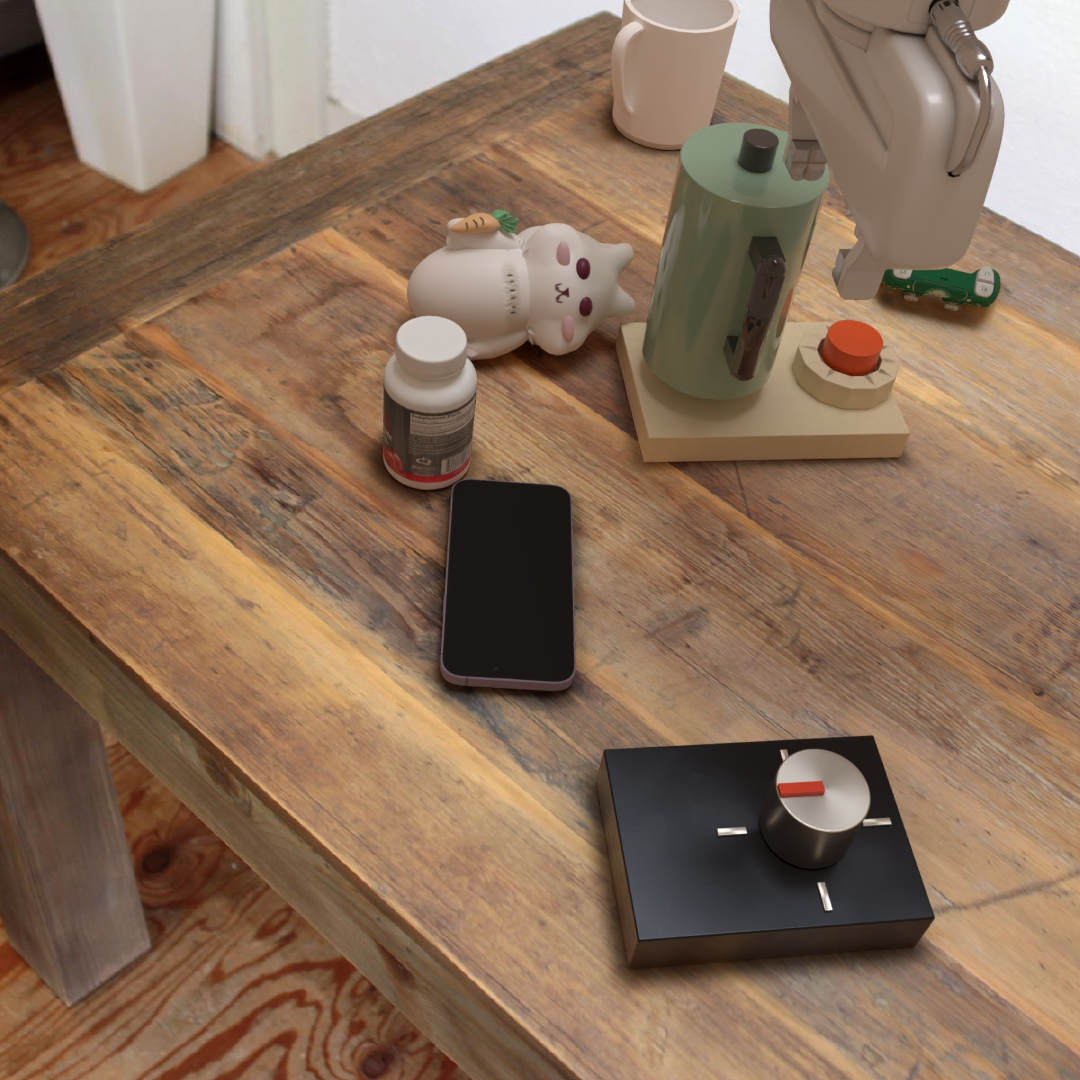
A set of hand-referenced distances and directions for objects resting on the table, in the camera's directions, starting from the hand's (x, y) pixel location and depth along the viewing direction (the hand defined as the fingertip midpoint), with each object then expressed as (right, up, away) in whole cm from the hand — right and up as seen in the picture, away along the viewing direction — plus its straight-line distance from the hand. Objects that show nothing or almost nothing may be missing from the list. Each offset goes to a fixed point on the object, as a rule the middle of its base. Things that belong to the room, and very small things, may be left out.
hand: (825, 228), depth 64 cm
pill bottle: (-21, -10, +18) cm, 29 cm away
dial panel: (-3, -31, +1) cm, 31 cm away
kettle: (-3, -3, +20) cm, 21 cm away
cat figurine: (-15, -1, +26) cm, 31 cm away
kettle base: (0, -6, +24) cm, 25 cm away
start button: (+6, -3, +22) cm, 23 cm away
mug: (-5, +19, +45) cm, 49 cm away
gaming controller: (+15, +3, +34) cm, 37 cm away
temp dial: (-1, -29, -1) cm, 29 cm away
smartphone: (-16, -18, +12) cm, 26 cm away
